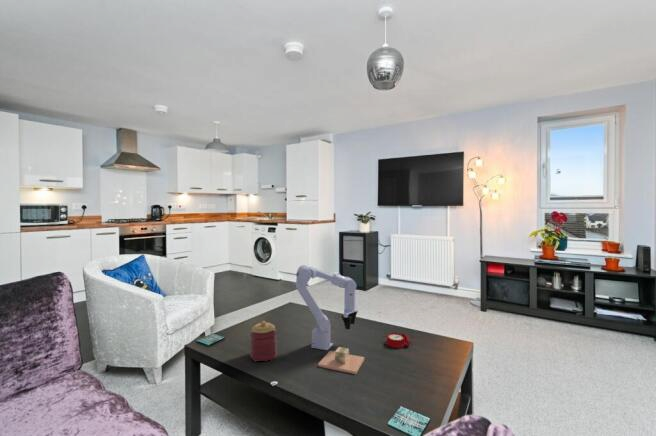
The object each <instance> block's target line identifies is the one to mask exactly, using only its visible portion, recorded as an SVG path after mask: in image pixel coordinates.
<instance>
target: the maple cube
mask: <svg viewBox="0 0 656 436" xmlns="http://www.w3.org/2000/svg"><path fill="white" fill-rule="evenodd" d="M349 350H350V349H349V348H346V347H341V346H338V347H337V348H336V350H335V351H334V352H335V362H338V363H342V364H346V362H347V361H348V360H349V354H350V351H349Z"/></svg>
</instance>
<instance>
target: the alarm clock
mask: <svg viewBox="0 0 656 436" xmlns="http://www.w3.org/2000/svg"><path fill="white" fill-rule="evenodd" d="M382 336H383V337H384V338H386V341H385V343H384V344H385V345H387V346H389V347H390V348H396V349H400V348H404V347H410V343H413V342H414V339H413V338H411V337H408V336H407V334H405V333H402V334H400V333H397V332H396V333H394V332H392V333H388V334H387V336H385V335H382ZM410 339H411V341H410Z"/></svg>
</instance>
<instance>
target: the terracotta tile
mask: <svg viewBox="0 0 656 436" xmlns="http://www.w3.org/2000/svg"><path fill="white" fill-rule="evenodd" d="M364 361H365V356H361V355H353V354H350V353H349V360H348V361H347V362H346V364H342V363H338V362H335V351H333V350H328V353H326V354H325V356H324V357H323V358H322V359H321V360H320V361H319V362H318V364H317V366H318V367H319V368H323V369H329V370H333V371H339V372H342V373H348V374H352V375H356V374H357V373H358V371H359V369H360V368H361V367H362V364H363V363H364Z"/></svg>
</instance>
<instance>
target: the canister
mask: <svg viewBox="0 0 656 436" xmlns="http://www.w3.org/2000/svg"><path fill="white" fill-rule="evenodd" d="M277 333H278V330H277V329H276V326H275V325H274V324H272V323H271V322H266V321H265V320H261V322H259V323H256V324H255V325H253V326H252V328H251V331H250V332H249V336H250V339H249V342H250V343H249V344H250V345H249V346H250V348H249V349H250V352H249V356H250V359H251V358H252V359H254V360H257V361H266V362H269V361H268V360H270V361H272V360H273V358H274V359H275V358H276V357H277V354H278V349H277V348H278V347H277V345H278V343H277V341H278V338H277V335H276V334H277ZM252 359H251V360H252ZM271 359H272V360H271Z"/></svg>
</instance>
